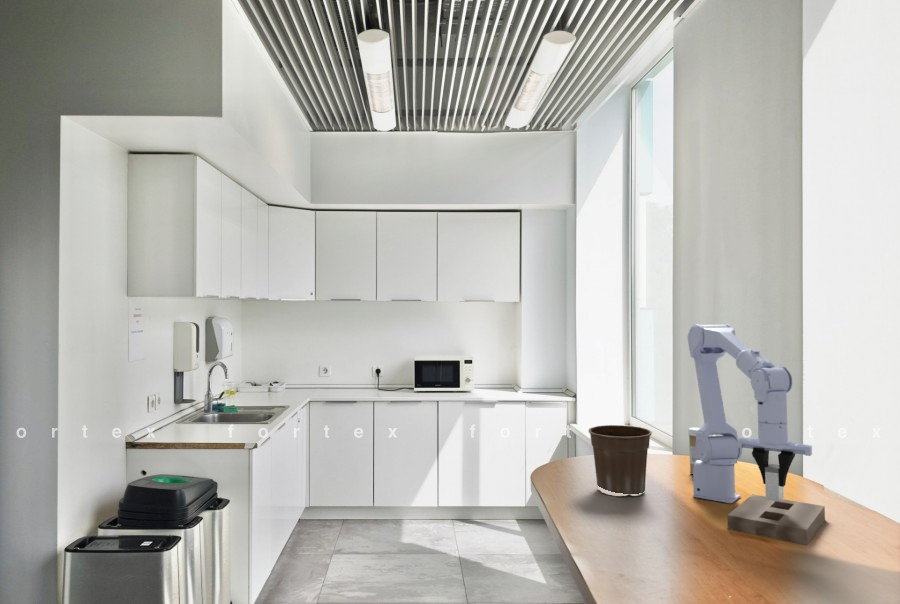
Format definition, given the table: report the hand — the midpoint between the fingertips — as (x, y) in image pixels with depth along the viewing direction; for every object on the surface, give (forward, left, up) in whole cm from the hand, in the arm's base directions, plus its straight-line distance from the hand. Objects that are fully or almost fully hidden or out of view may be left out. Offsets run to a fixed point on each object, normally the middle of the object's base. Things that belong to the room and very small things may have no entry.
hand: (774, 484), depth 133 cm
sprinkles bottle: (-28, +34, -9) cm, 45 cm away
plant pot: (-38, +4, -9) cm, 39 cm away
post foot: (0, +1, -9) cm, 9 cm away
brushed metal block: (0, 0, -3) cm, 3 cm away
